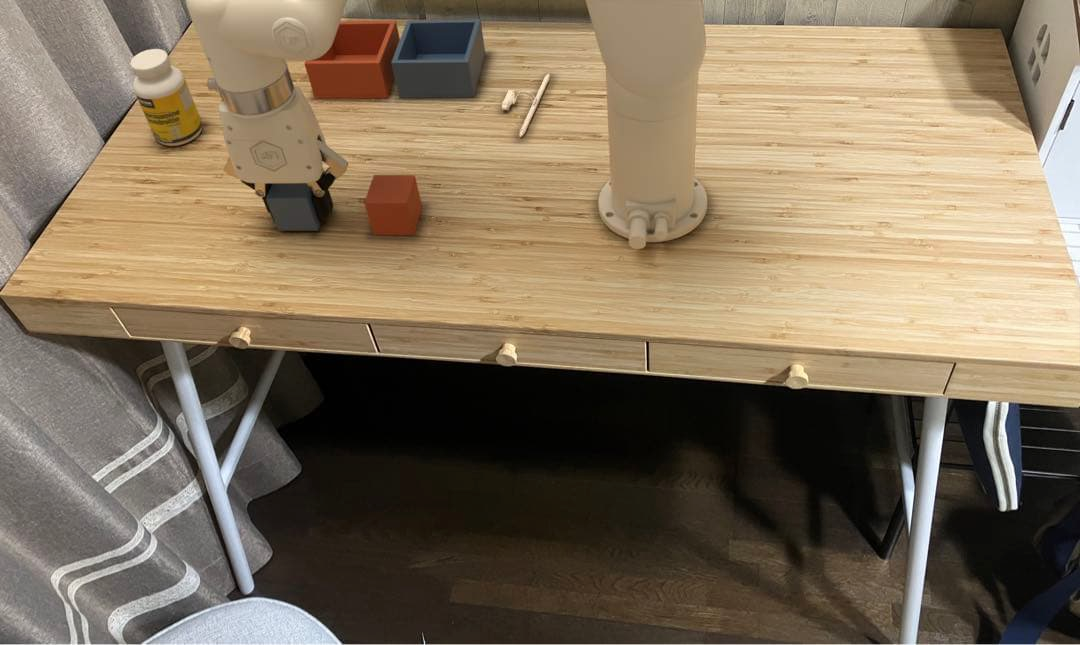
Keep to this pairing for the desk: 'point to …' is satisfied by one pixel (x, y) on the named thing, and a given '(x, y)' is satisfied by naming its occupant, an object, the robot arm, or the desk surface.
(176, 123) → the pill bottle
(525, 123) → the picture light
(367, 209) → the terracotta block
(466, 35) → the blue bin
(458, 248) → the desk surface
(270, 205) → the gray block
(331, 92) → the terracotta bin
